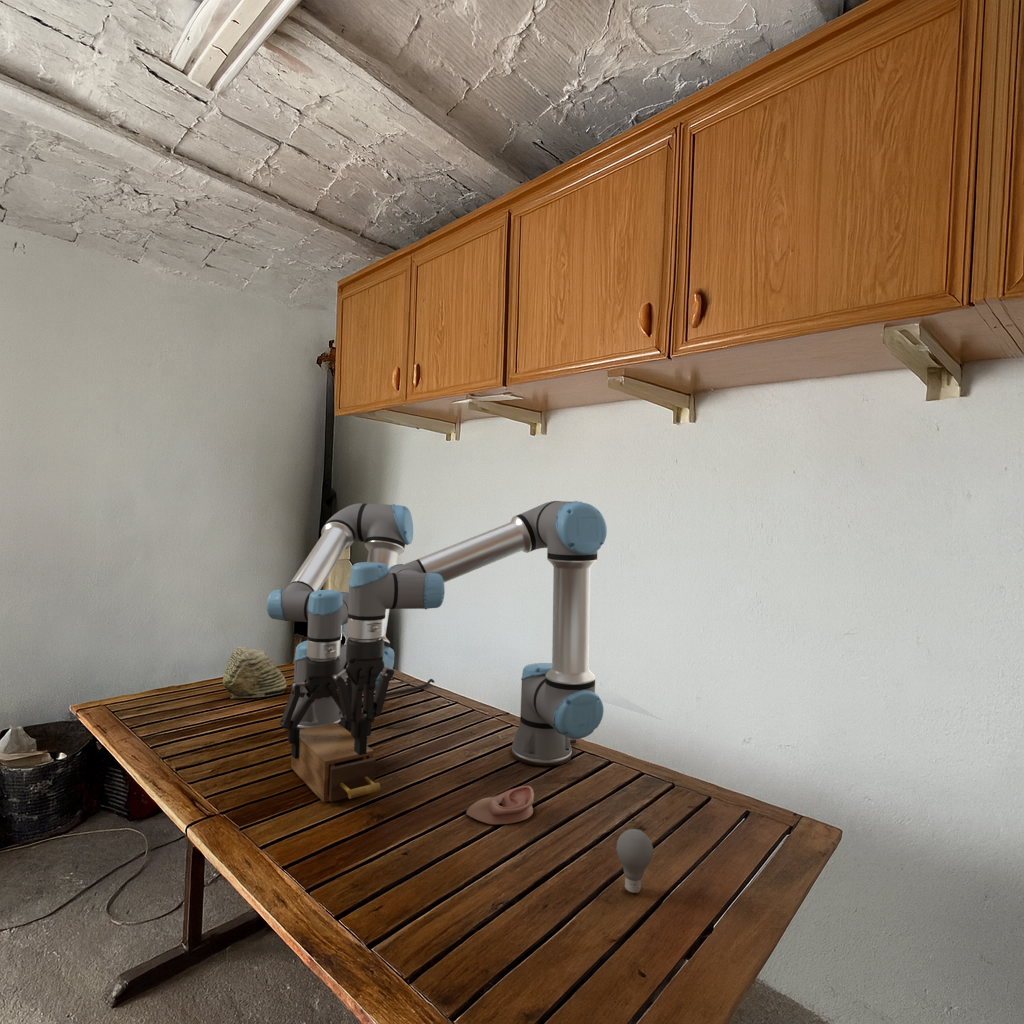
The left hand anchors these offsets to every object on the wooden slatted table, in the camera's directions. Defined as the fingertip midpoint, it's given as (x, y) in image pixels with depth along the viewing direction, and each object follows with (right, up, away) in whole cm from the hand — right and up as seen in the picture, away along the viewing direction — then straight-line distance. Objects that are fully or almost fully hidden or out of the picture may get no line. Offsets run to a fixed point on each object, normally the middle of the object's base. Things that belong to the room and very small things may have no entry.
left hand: (319, 751), depth 148 cm
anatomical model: (+42, -6, -17) cm, 46 cm away
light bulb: (+65, -8, -42) cm, 78 cm away
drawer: (+8, -4, -10) cm, 13 cm away
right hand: (+14, +6, -18) cm, 23 cm away
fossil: (-36, -1, +50) cm, 62 cm away
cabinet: (+4, -4, -5) cm, 8 cm away
